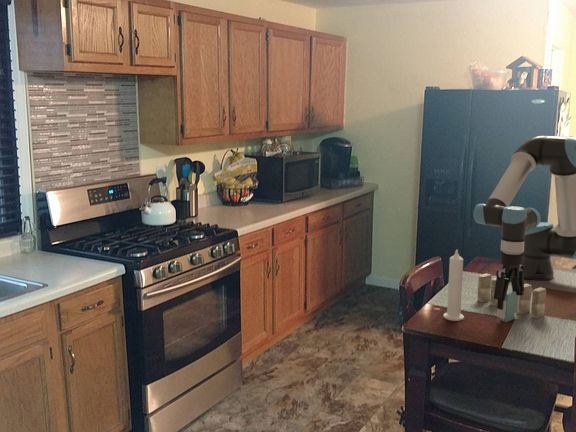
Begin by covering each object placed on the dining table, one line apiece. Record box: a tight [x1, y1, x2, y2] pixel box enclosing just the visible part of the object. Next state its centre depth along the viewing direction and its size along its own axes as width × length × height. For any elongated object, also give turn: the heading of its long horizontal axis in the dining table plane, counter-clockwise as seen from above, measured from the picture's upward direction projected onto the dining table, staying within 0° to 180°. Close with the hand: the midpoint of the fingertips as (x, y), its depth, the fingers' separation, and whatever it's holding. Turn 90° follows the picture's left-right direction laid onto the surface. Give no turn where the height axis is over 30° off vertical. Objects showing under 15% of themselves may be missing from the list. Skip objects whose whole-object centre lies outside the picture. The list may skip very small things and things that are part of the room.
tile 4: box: [489, 277, 498, 307], centre depth 221 cm, size 2×5×10 cm, turn 128°
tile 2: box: [517, 283, 533, 315], centre depth 212 cm, size 2×5×10 cm, turn 128°
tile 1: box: [530, 287, 547, 320], centre depth 208 cm, size 2×5×10 cm, turn 128°
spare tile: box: [500, 289, 516, 323], centre depth 205 cm, size 2×5×10 cm, turn 128°
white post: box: [443, 249, 465, 322], centre depth 206 cm, size 7×7×25 cm
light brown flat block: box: [477, 272, 492, 303], centre depth 225 cm, size 2×5×10 cm, turn 128°
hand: (507, 314), depth 206 cm, fingers open, 8 cm apart
